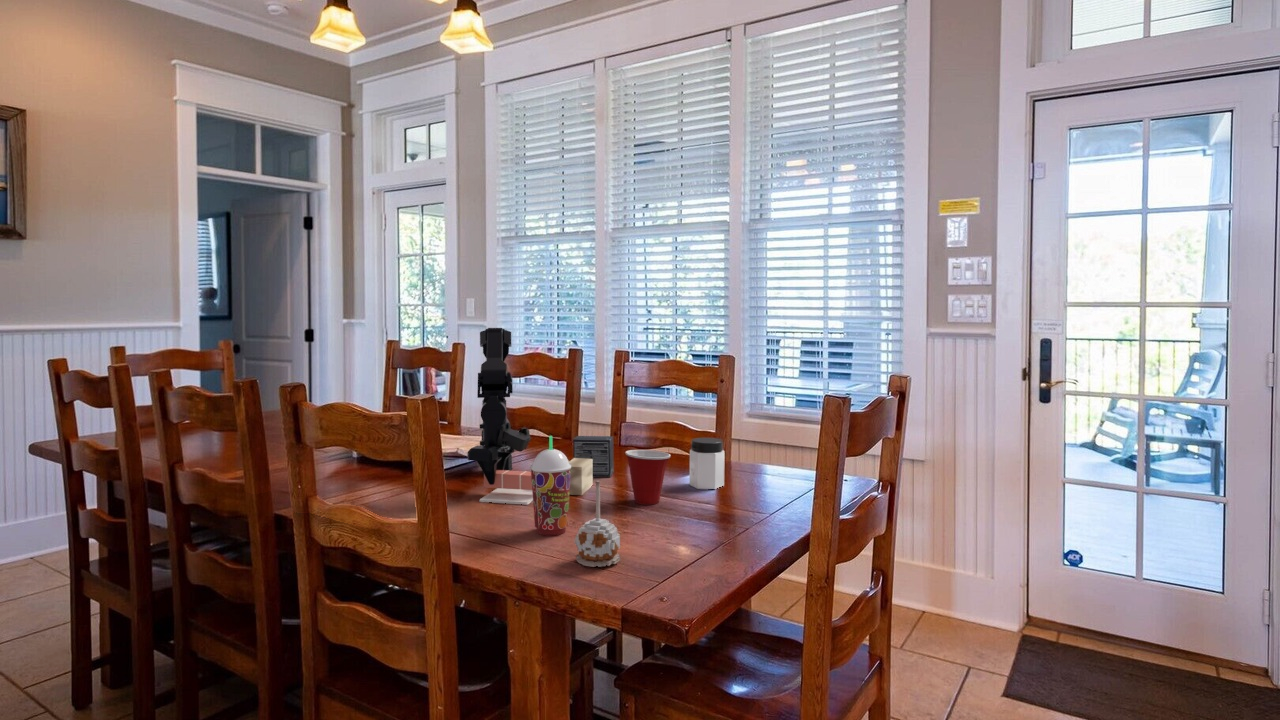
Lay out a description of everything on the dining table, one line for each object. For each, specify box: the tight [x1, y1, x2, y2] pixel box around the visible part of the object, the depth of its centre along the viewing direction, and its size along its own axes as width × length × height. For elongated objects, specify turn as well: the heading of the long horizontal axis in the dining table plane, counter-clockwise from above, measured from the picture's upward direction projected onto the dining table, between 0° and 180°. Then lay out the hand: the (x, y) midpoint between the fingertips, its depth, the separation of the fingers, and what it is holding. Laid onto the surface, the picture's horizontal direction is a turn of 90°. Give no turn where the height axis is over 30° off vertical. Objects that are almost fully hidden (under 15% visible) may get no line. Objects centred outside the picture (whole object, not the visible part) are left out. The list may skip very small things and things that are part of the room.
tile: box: [479, 488, 533, 506], centre depth 177 cm, size 12×12×1 cm
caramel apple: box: [574, 480, 621, 568], centre depth 132 cm, size 8×8×15 cm
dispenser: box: [568, 458, 594, 496], centre depth 185 cm, size 11×10×7 cm
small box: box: [572, 435, 614, 478], centre depth 201 cm, size 11×6×10 cm, turn 84°
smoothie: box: [529, 435, 571, 537], centre depth 150 cm, size 8×8×20 cm
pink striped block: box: [483, 470, 532, 490], centre depth 177 cm, size 14×4×4 cm, turn 78°
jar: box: [688, 437, 726, 490], centre depth 188 cm, size 9×8×12 cm
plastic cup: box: [625, 449, 671, 506], centre depth 173 cm, size 11×11×12 cm
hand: (495, 482), depth 178 cm, fingers closed on pink striped block, 4 cm apart
